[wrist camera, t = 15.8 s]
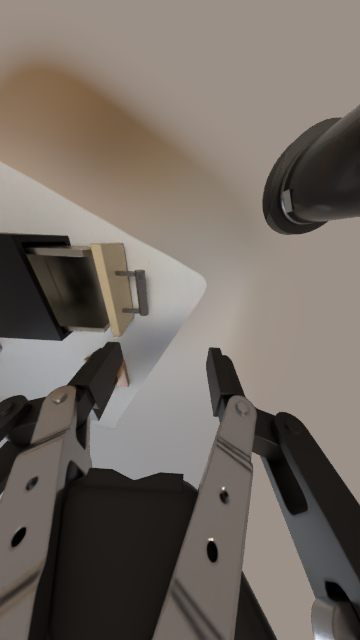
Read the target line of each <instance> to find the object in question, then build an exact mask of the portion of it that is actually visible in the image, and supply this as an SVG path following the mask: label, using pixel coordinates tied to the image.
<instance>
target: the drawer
mask: <svg viewBox="0 0 360 640" xmlns="http://www.w3.org/2000/svg"><path fill="white" fill-rule="evenodd" d="M22 246H23V248H24V251H25V253H26V255H27V257H28V259H29V261H30V263H31V265H32V268H33V270H34V272H35V274H36V276H37V278H38V280H39V283H40V285H41V287H42V289H43V291H44V293H45V295H46V297H47V300H48V302H49V304H50V306H51V308H52V310H53V312H54V315H55V317H56V319H57V321H58V323H59V325H60V327H61V330H69V331H88V332H106V331H107V329H108V328H109V327H110V326H111V330H112V334H113V337H121V336H122V334H123V333H124V331H125V330H126V328H127V327H128V325H129V324H130V322H131V321H132V319H133V318H134V316H133V313H140V315H141V316H146V315H148V303H147V291H146V279H145V271H144V270H135V271H127V267H126V261H125V254H124V247H123V243H97V244H90V246H91V247H90V246H69V245H48V244H24V245H22ZM128 276H135V278H136V287H137V295H138V304H139V309H132V302H131V295H130V288H129V281H128Z"/></svg>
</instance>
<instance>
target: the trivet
mask: <svg viewBox="0 0 360 640" xmlns="http://www.w3.org/2000/svg"><path fill="white" fill-rule="evenodd" d="M88 359H89V358H85V359H84V362H86V361H87V360H88ZM117 379H118V382H117V384H116V386H122V387H129V379H128V375H127V370H126V366H125V361H124V360H123V363H122V366H121V368H120V370H119V371H118V373H117Z"/></svg>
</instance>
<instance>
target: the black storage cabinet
mask: <svg viewBox="0 0 360 640" xmlns="http://www.w3.org/2000/svg"><path fill="white" fill-rule="evenodd" d="M24 244H48V245H69V246H71V245H70V242H69V238H68V236H60V235H39V234H18V233H0V337H1V338H19V339H38V340H56V341H62V340H63V339H65V338H66V337H67V336H68V335H69V334H71V333H72V332H73V331H69V330H61V327H60V325H59V323H58V321H57V319H56V317H55V315H54V312H53V310H52V308H51V306H50V304H49V302H48V300H47V297H46V295H45V293H44V291H43V289H42V287H41V285H40V283H39V280H38V278H37V276H36V274H35V272H34V270H33V268H32V265H31V263H30V261H29V259H28V257H27V255H26V253H25V251H24V248H23V246H22V245H24Z"/></svg>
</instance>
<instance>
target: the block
mask: <svg viewBox="0 0 360 640" xmlns="http://www.w3.org/2000/svg"><path fill="white" fill-rule="evenodd" d="M117 382H118V379H117V375H116V377H115V379H114V381H113V383H112V385H111V387H110V389H109V391H108V393H107V395H106V397H105V399H104V401H103V403H102V405H101V407H100V409H95V408H92V410H91V412H90V421H99V420H100V418H101V416H102V414H103V412H104V409H105V407H106V405H107V403H108V401H109V399H110V397H111V395H112V393H113V391H114V388H115V386H116V384H117Z"/></svg>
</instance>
